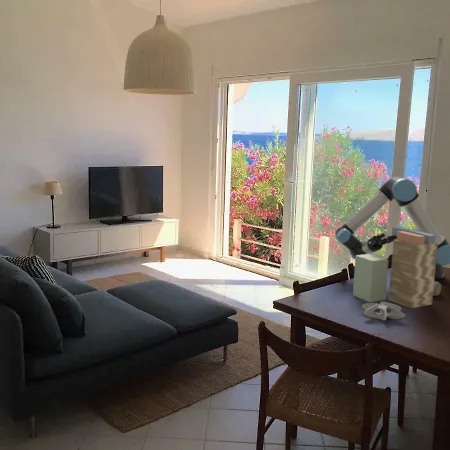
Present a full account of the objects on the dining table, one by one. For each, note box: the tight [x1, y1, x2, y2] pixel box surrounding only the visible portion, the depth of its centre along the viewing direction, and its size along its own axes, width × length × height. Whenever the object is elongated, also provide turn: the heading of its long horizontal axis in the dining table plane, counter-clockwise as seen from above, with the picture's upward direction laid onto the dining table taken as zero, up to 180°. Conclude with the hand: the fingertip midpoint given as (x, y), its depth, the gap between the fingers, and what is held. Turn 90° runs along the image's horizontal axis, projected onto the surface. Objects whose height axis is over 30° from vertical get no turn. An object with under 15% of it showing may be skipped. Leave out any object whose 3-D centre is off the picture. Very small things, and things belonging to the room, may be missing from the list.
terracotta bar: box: [397, 231, 425, 245], centre depth 248 cm, size 13×4×4 cm, turn 28°
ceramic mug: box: [433, 280, 442, 297], centre depth 269 cm, size 11×8×8 cm
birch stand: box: [388, 240, 438, 309], centre depth 253 cm, size 14×14×30 cm
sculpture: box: [361, 301, 406, 321], centre depth 233 cm, size 18×20×6 cm
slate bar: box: [391, 226, 436, 244], centre depth 256 cm, size 24×4×4 cm, turn 26°
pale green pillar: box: [352, 253, 389, 303], centre depth 259 cm, size 12×10×20 cm
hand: (400, 231), depth 262 cm, fingers open, 13 cm apart
